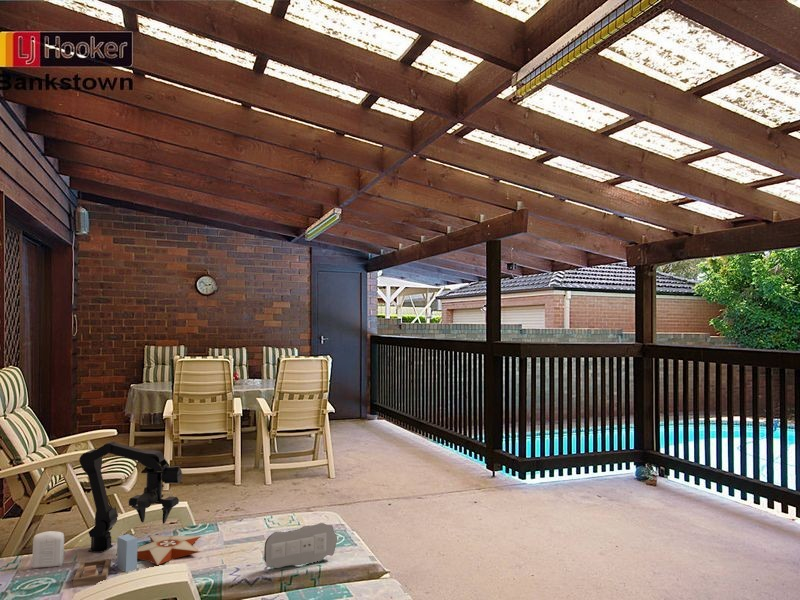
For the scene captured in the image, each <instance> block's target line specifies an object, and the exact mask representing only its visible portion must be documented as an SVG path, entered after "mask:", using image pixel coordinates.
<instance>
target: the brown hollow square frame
mask: <svg viewBox="0 0 800 600" xmlns="http://www.w3.org/2000/svg"><path fill="white" fill-rule="evenodd" d="M94 565H96V568H99V567H103V569H102V573H101V574H98V575H95V576H88V577H82V576H83V573H84V569H85V567H88V566H94ZM111 565H112V558H110V557H109V558H105V559H98V560H97V559H96V560H91V561H90V560H89V561H80V562H79V565H78V567H77V570H76V572H75V575H74V578H73V581H72V582H73V583H72V584H73V585H72V588H79V587H84V586H91V585H93V586H94V585H97V584H96V583H98V582H100V581H103V580H106V579H108V576H109V573H110V569H111Z"/></svg>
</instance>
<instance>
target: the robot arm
mask: <svg viewBox="0 0 800 600" xmlns="http://www.w3.org/2000/svg"><path fill="white" fill-rule="evenodd" d="M109 454H110V455H115V456H117V457H122V458H125V459H129V460H133V461H135V462H138V463H139V464H141V465H142V466H145V467H144V468H143V470H141V471H140V473H141V474H146V482H145V483H146V485H145V487H144V488H143V493H142V494H136V495H134V496H131V497H130V498H129V499H128V507H130V506H131V508H132V509H135V510H136V512H137V514H138V517H139V520H140V522H141V523H144V522H145V520H146V519H145V518H146V511H147V509H148V508H150V506H151V505H155V504H157V505H161V506H162V508H161V510H162V520H161V521H162V524H163V525H164V524H165V523H166V522H167V519H168V517H169V515H170V512H171V510H172V509H173V508H174V507H176V506H177V505H178V504H179V502H180V501H179V497H178V496H168V497H166V498H164V494H163V493H162V491H163V490H162V489H163V488H164V486H165V484H166V485H167V484H170V485H172V484H181V482H182V478H183V472H182V469H181V465H176V466H175V465H173V466H171V465H170V463H168V461H167V460H166V458H165V456H164V453H163V452H162V451H161V450H154V449H147V450H145V449H139V448H136V447H134V446H133V447H132V446H128V445H125V444H122V443H118V442H115V441H109V442H107V443H105V444H103V445H102V446H100V447H99V448H97V449H96V448H95V449H91V450H89V451H86V452H84V453H82V454H81V455H80V457H79V458H78V461H79V464H80V467H81V469H82V470H83V471H84V473H86V475H87V477H88V481H89V485H90V486H89V487H90V489H91V493H92V497H93V501H94V506H95V514H94V515H95V516H94V526H93V527H92V528H91V529H90V530H89V531H88V536H89V537H90V538H91V539H90V548H89V549H88V551H87V552H93V553H94V552H95V553H104V552H106V551H108V550H109V549H110V548H112V547H113V546H114V544H112V535H111V534H112V533H111V531H110V530H113V527H114V526H115V525H116V524H117V522H118V517H119V515H118V513H117V507H116V506H114V507H112V506H111V505H110V502H109V499H108V495H107V490H106V487H105V482H104V479H103V474H102V465H103V457H104V456H106V455H109ZM162 483H164V484H162Z"/></svg>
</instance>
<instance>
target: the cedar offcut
mask: <svg viewBox="0 0 800 600" xmlns="http://www.w3.org/2000/svg"><path fill="white" fill-rule="evenodd" d="M96 571H97V567H96V565H94V566H88V567H85V569H84V572H83V573H84V577H85V576H91V575H96Z"/></svg>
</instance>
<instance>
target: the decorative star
mask: <svg viewBox="0 0 800 600" xmlns="http://www.w3.org/2000/svg"><path fill="white" fill-rule="evenodd" d="M201 537H202V536H200V535H197V536H196V535H149V539H150V543H147V544H143V545H139V546H137V560H142V561H149V562H151V563H152V564H155V565H157V566H159V565H161V564H163V563H166V562H168V561H171V560H174V559H175V560H176V559H178V558H182V557H186V556H189V555H194V554H197V553H198V554H199V553H200V552H201V551H200V550H199V549H198V548H196V547H195V546H194V545H193V544H194V543H196V542H197V541H198V540H199V539H200V538H201Z"/></svg>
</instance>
